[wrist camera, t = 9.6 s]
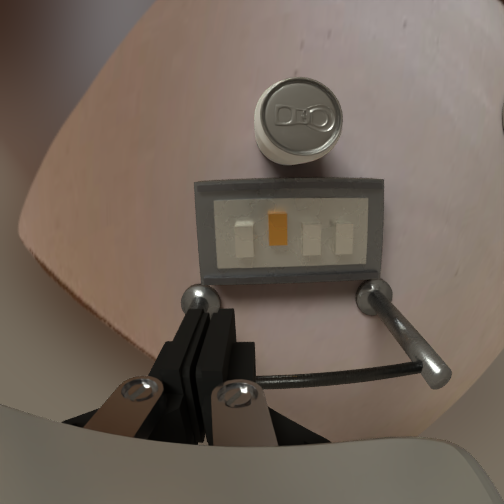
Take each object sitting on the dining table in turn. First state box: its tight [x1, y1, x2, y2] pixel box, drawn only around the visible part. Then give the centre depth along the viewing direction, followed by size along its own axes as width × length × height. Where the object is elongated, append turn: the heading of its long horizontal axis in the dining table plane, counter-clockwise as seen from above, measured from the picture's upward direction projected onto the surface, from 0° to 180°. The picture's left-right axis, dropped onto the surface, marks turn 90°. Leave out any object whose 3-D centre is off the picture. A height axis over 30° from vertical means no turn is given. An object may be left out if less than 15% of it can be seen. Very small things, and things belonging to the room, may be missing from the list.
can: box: [254, 77, 343, 165], centre depth 25 cm, size 6×6×12 cm
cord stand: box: [173, 279, 452, 389], centre depth 27 cm, size 24×4×17 cm, turn 92°
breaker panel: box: [194, 177, 384, 285], centre depth 31 cm, size 18×10×6 cm, turn 92°
